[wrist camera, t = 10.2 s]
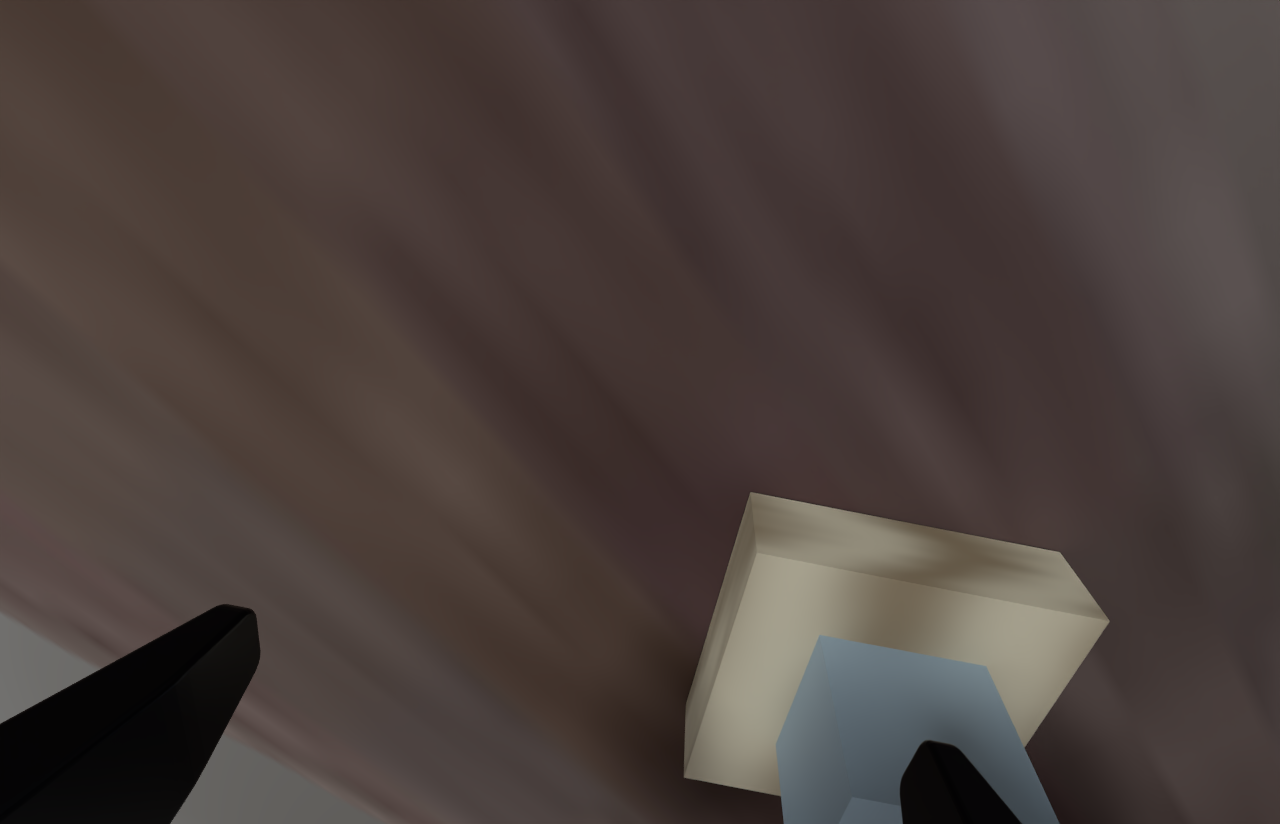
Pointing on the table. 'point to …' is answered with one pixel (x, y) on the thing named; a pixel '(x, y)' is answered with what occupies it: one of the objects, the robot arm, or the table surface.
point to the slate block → (893, 734)
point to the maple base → (872, 622)
